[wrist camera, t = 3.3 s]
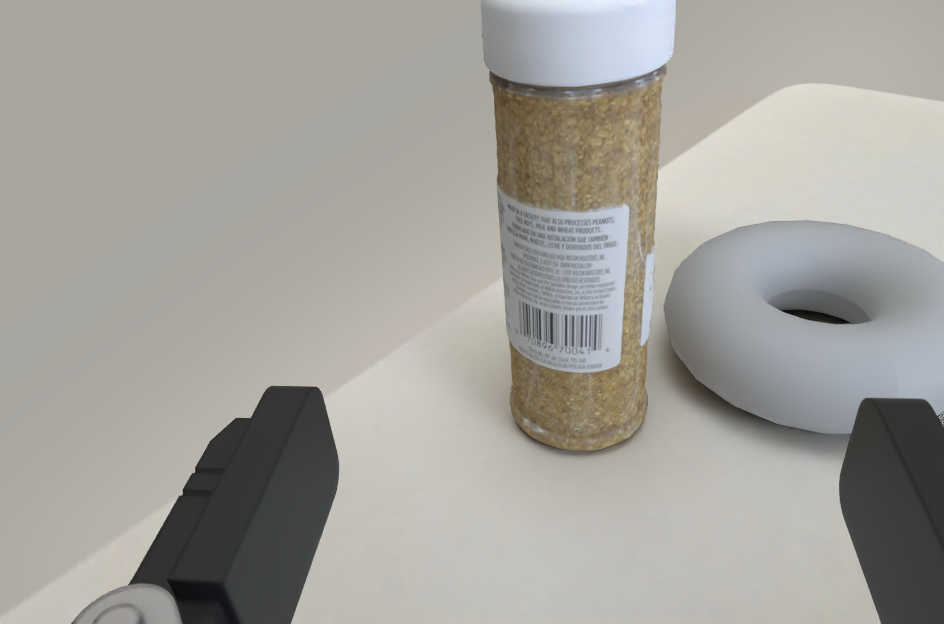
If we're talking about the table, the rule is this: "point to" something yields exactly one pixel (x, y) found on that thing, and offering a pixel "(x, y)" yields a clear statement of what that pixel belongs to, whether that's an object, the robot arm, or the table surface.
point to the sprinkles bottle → (578, 206)
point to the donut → (810, 342)
